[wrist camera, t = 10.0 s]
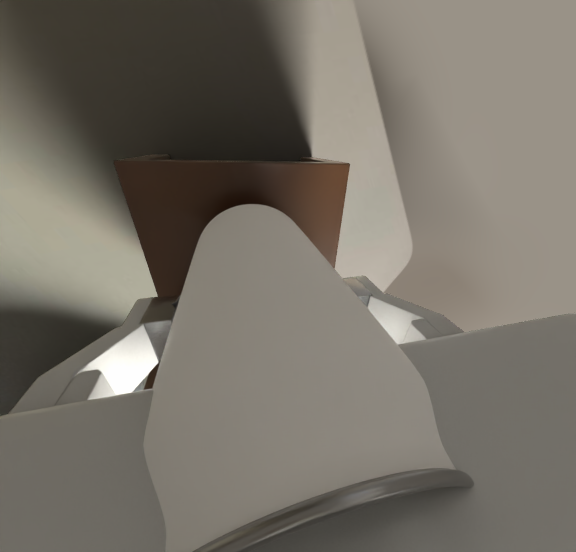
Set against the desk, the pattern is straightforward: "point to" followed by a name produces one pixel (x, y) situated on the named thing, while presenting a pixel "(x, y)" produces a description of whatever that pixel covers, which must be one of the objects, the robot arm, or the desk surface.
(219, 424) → the can
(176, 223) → the wooden doll chair
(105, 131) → the desk surface
